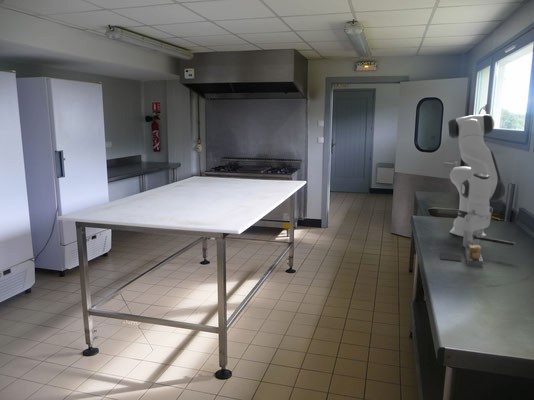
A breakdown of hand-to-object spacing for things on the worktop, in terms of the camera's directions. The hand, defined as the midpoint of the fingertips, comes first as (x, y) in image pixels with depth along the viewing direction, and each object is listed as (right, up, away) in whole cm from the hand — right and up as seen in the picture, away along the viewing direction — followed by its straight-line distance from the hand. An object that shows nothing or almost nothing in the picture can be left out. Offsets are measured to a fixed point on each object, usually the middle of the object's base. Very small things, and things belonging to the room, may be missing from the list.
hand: (474, 238), depth 193 cm
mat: (-8, -10, +7) cm, 14 cm away
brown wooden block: (+1, -8, +2) cm, 8 cm away
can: (+9, -7, +23) cm, 26 cm away
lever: (+12, -2, +8) cm, 15 cm away
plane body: (+2, -10, +5) cm, 11 cm away
